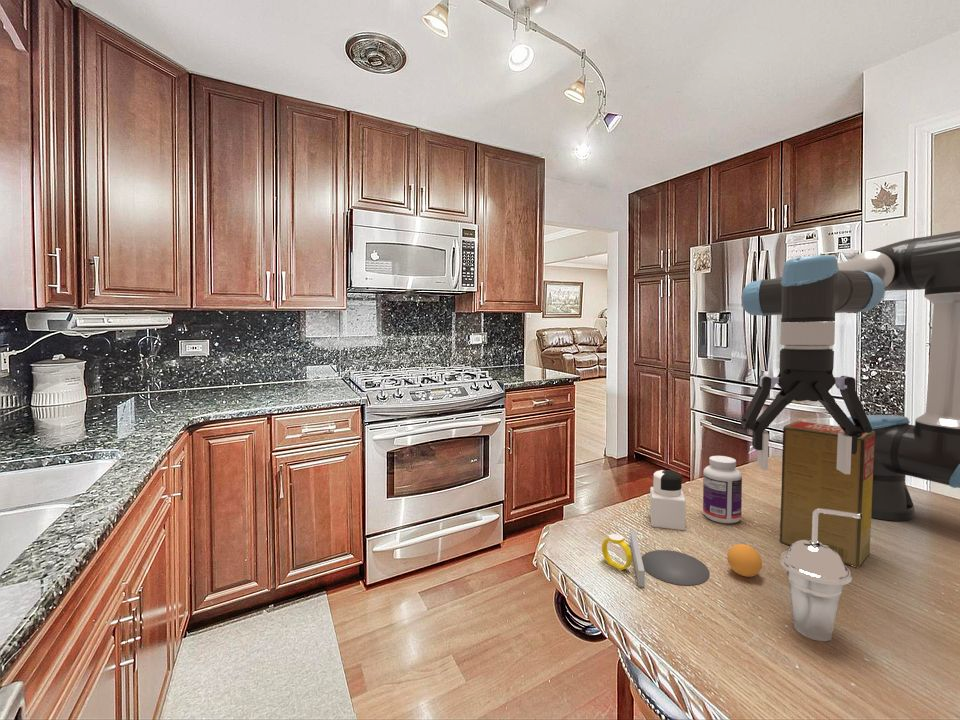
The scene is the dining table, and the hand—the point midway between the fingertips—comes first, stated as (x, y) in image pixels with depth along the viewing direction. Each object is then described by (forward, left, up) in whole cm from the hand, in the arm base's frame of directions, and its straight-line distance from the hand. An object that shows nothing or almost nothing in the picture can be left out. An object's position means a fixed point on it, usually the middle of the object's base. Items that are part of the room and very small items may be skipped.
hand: (802, 469), depth 77 cm
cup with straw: (+4, +15, -21) cm, 26 cm away
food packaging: (-10, -14, -21) cm, 27 cm away
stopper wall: (+28, 0, -20) cm, 34 cm away
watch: (+31, +2, -21) cm, 38 cm away
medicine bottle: (+19, -20, -21) cm, 34 cm away
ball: (+9, 0, -18) cm, 20 cm away
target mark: (+21, 0, -20) cm, 29 cm away
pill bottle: (+6, -25, -21) cm, 33 cm away
